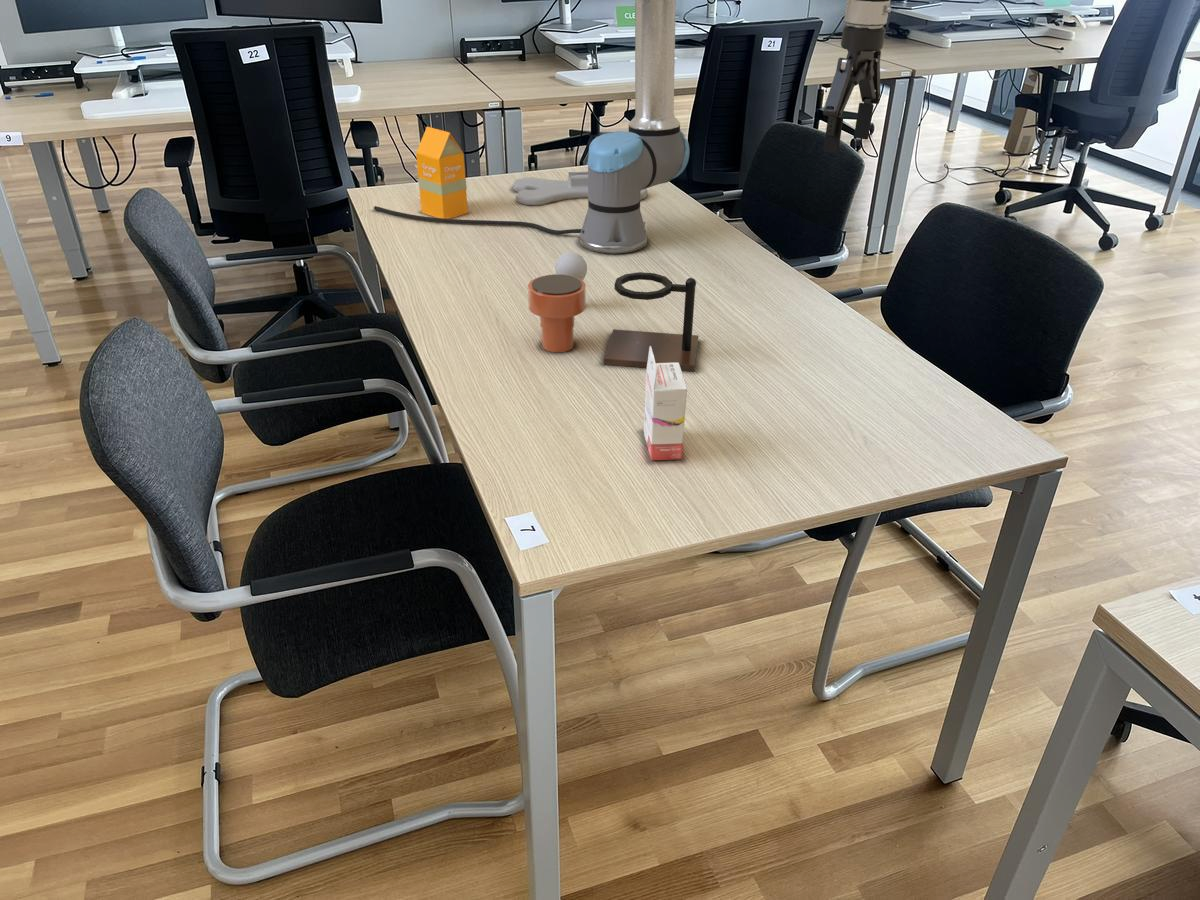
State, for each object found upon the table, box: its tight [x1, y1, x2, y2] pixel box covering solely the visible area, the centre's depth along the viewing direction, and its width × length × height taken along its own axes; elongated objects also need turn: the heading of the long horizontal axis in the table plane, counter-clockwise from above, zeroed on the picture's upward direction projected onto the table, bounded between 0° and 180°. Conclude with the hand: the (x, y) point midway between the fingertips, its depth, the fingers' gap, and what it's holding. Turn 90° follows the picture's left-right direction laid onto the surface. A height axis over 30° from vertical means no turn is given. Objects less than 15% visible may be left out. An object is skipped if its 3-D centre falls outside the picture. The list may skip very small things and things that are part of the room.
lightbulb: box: [554, 251, 588, 281], centre depth 176 cm, size 6×6×11 cm
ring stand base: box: [603, 329, 700, 372], centre depth 162 cm, size 16×12×1 cm
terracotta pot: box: [527, 273, 587, 353], centre depth 162 cm, size 10×10×12 cm
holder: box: [512, 170, 648, 206], centre depth 240 cm, size 19×34×5 cm, turn 100°
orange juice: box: [415, 125, 469, 219], centre depth 221 cm, size 8×9×20 cm
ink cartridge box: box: [643, 346, 688, 461], centre depth 133 cm, size 9×5×15 cm, turn 5°
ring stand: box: [613, 271, 697, 351], centre depth 159 cm, size 14×10×13 cm
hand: (846, 145), depth 178 cm, fingers open, 13 cm apart
